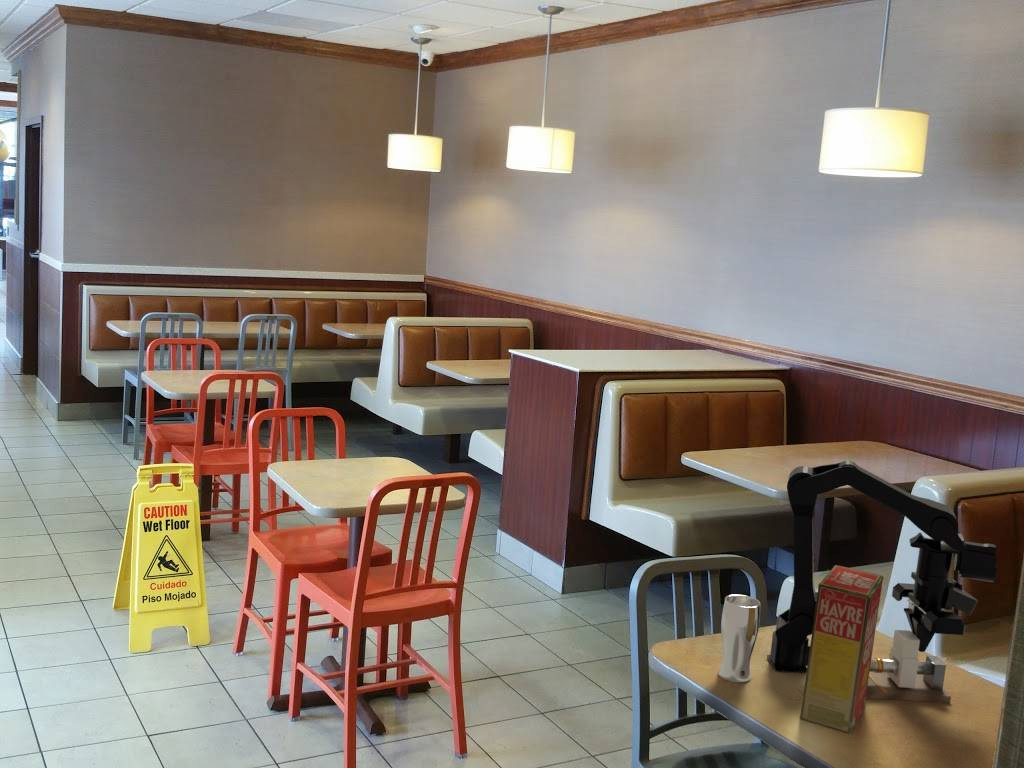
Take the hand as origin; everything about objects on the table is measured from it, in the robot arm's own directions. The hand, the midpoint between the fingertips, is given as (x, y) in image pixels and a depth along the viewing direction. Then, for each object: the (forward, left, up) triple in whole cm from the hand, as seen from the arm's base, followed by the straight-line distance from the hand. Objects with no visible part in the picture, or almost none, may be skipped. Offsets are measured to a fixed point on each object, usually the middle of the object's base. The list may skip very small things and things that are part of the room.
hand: (921, 651), depth 194 cm
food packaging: (-20, -11, -8) cm, 24 cm away
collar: (-3, 0, -6) cm, 7 cm away
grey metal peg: (-4, 0, -7) cm, 8 cm away
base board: (-4, 0, -8) cm, 9 cm away
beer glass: (-34, +2, -8) cm, 35 cm away
